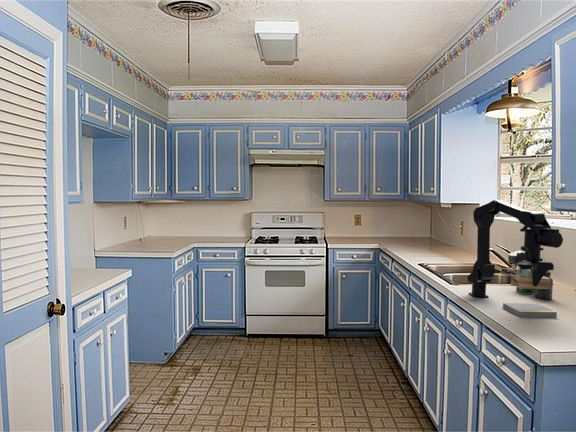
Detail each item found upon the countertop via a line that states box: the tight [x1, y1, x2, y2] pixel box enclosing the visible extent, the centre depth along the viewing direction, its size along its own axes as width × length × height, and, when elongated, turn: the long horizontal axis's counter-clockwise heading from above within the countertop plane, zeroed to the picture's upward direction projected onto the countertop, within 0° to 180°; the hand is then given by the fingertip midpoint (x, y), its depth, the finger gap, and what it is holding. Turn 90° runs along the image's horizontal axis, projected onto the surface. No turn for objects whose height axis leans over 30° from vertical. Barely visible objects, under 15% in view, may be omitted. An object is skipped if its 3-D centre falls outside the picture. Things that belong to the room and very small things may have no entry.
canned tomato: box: [515, 267, 535, 295], centre depth 198 cm, size 8×8×11 cm
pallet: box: [510, 274, 552, 289], centre depth 165 cm, size 6×12×4 cm, turn 91°
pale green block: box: [521, 269, 533, 278], centre depth 165 cm, size 4×5×2 cm
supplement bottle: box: [534, 270, 554, 301], centre depth 188 cm, size 7×7×12 cm
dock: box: [502, 302, 558, 319], centre depth 165 cm, size 12×14×2 cm
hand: (530, 284), depth 165 cm, fingers closed on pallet, 6 cm apart
